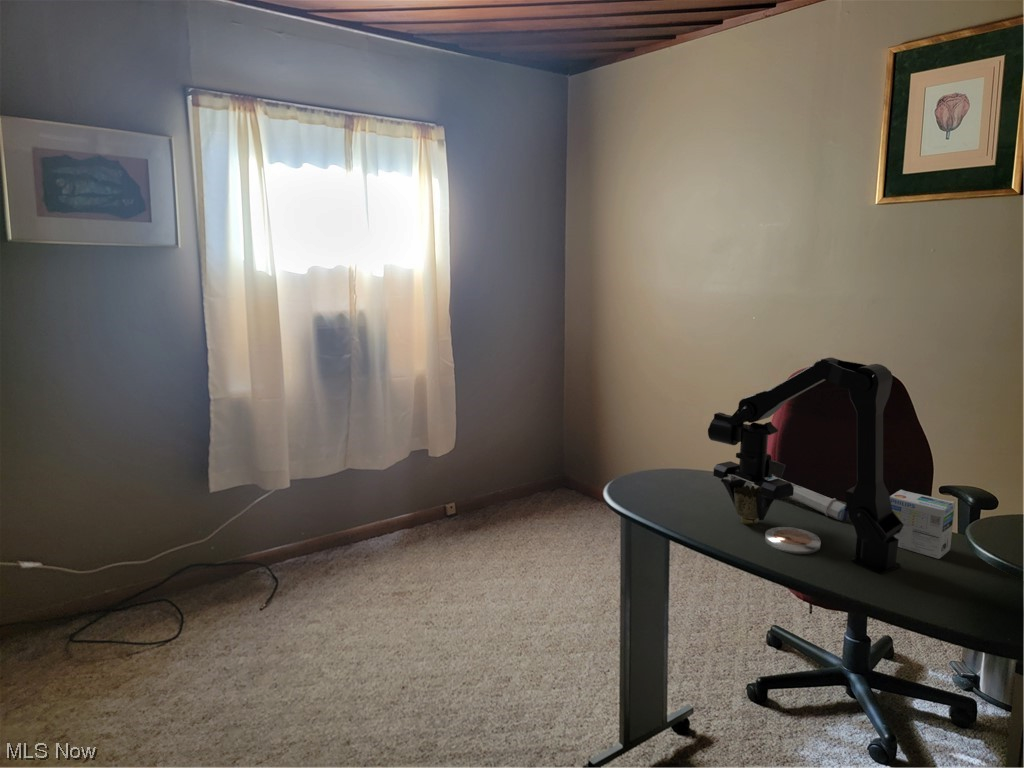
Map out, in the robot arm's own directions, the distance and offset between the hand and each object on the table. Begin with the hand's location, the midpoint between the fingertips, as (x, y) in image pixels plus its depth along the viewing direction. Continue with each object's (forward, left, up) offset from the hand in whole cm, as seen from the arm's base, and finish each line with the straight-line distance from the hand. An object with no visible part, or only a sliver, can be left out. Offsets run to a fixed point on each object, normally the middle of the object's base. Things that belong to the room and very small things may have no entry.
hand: (749, 514), depth 153 cm
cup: (0, 0, -2) cm, 2 cm away
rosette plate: (-12, 0, -2) cm, 12 cm away
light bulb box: (-26, -21, -2) cm, 34 cm away
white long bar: (+3, -19, -2) cm, 19 cm away
